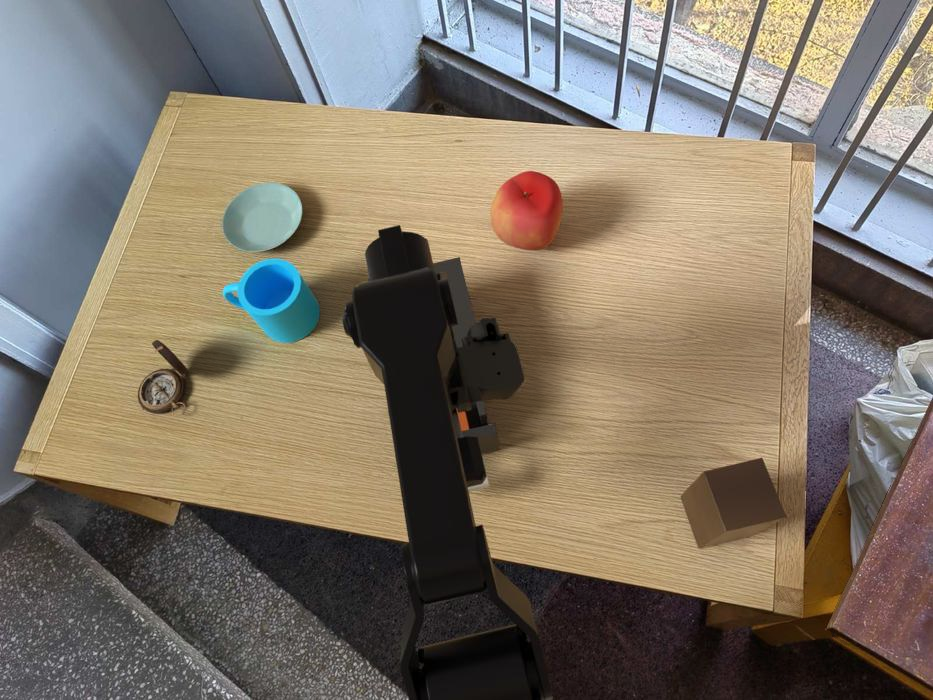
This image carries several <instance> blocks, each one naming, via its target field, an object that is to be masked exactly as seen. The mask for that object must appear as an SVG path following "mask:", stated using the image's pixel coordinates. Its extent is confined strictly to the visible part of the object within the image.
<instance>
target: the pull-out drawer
mask: <svg viewBox="0 0 933 700" xmlns="http://www.w3.org/2000/svg"><path fill="white" fill-rule="evenodd" d="M471 408H472V410H469V411H466V413H467V418H468V422H469V427H470V429H469V430H464V431H462V435H463V437H466V436H470V437H478V441H479V445H480V449H481V453H482V455H483V454H487V453H490V452H495V451H500V450H501V445H500V439H499V433H498V429H497V425H496V423H495V422H494V423H491V424H490V423H489V420H488V414H487V410H486V406H485V401H482V402H476V403H471ZM486 475H487V477H486V479H485V481H484V482H483V484H480V485H476V486H471V487H468V491H469V492H472V491H476V490H477V491H478V490H481V489H486V488H489V487H491V485H490V481H489V476H488V473H486Z"/></svg>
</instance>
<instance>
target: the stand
mask: <svg viewBox="0 0 933 700" xmlns="http://www.w3.org/2000/svg"><path fill="white" fill-rule="evenodd" d="M680 500H681V503H682V506H683V508H684V512H685V514H686V517H687V520H688V523H689V525H690V529H691V531H692V534H693V537H694V540H695V543H696V545H697V548H698V549H703V548H708V547H713V546H717V545H720V544H724V543H729V542H733V541H737V540H743V539H745V538H750V537H753V536H754V535H756V534H758V533H760V532H762V531H764V530H766V529H768V528H769V527H771V526H773V525H776V524H777V523H779V522H780V521H782V520H784V519H786V518H787V515H786V512H785V509H784V507H783V505H782V502H781V500H780V497H779V495H778V493H777V490H776V488H775V485H774V483H773V480H772V477H771V475H770V473H769V471H768V468H767V466H766V464H765V461H764V458H763V457H759V458H755V459H754V458H753V459H750V460H746V461H742V462H738V463H733V464H729V465H725V466H722V467H717V468H712V469H709V470H704V471H702V473H701V474H700V475H699V476H698V477H697V478H696V479H695V480H694V481H693V482H692V483H691V484H690V486H689V487H687V488H686V490H685V491H684V492H683V493H682V494H681V495H680Z"/></svg>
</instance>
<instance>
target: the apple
mask: <svg viewBox="0 0 933 700" xmlns="http://www.w3.org/2000/svg"><path fill="white" fill-rule="evenodd" d="M563 204H564V201H563V196H562V192H561V188H560V186H559V185H558V183H557V182H556V180H554V179H553V178H552V177H551V176H548V175H547V174H544V173H542V172H539V171H534V170H526V171H523V172H520V173H518V174H516V175H514V176H512V177H511V178H509V179H507V180H506V181H505V182H504V183H503V184H502V185H500V186H499V188H498V189H497V191H496V193H495V195H494V197H493V199H492V201H491V205H490V211H489V212H490V215H489V216H490V223H491V227H492V230H493V232H494V234H495V235H496V236H497V237H498V239H499V240H500V241H501V242H503V243H504V244H506V245H507V246H510V247H513V248H515V249H519V250H523V251H540V250H543V249H546V248H547V247H548V246H549V245H550V244H551V243H552V242H553V240H554V239H555V237H556V235H557V234H558V231H559V228H560V226H561V225H560V224H561V221H562V216H563V208H564V205H563Z"/></svg>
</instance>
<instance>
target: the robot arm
mask: <svg viewBox="0 0 933 700" xmlns="http://www.w3.org/2000/svg"><path fill="white" fill-rule="evenodd" d="M377 232H378V237H376V239H374V240H373V241H372V242H371V243H370V244H369V245H368V246H367V248H366V249H365V252H364V257H365V263H366V268H367V273H368V279H370V281H368V280H367V281H363V282H359V283H358V284H357V285H356V286H353V288H352V290H351V296H350V297H349V299H348V300H347V301H346V302H345V306H344V311H343V315H342V322H341V323H342V328H343V330H344V333H345V335H346V336H348V337H349V338H351V340H352V342H353V345H354V346H355V347H356V348H357V349H362V351H363V354H364V356H365V359H366V360H367V362H368V364H369V366H370V368H371V370H372V372H373V374H374V376H375V377H376V378H377V379H378V380H379V381H380V383H382V384H383V385H384V392H385V393H384V394H385V399H386V406H387V411H388V418H389V425H390V430H391V431H390V432H391V437H392V445H393V451H394V455H395V456H394V457H395V462H396V469H397V476H398V481H399V486H400V493H401V500H402V507H403V513H404V520H405V526H406V527H405V528H406V533H407V538H408V539H407V540H408V542H404V543H402V545H401V559H402V567H403V574H404V578H405V582H406V587H407V591H408V594H409V597H410V601H409V605H408V609H407V611H406V614H405V617H404V620H403V624H402V628H401V629H402V630H401V631H402V632H401V646H400V648H401V649H400V662H399V663H400V666H399V667H400V669H399V670H400V673H401V676H402V680H403V683H404V686H405V691H406V694H407V697H408V700H554V697H553V693H552V688H551V683H550V680H549V675H548V671H547V667H546V661H545V659H544V655H543V654H544V653H543V649H542V646H541V641H540V637H539V633H538V629H537V625H536V621H535V616H534V613H533V609H532V606H531V601H530V599H529V597H528V596H527V595H526V594H525V593H524V592H523V591H522V590H520V588H518V587H517V585H515V584H514V583H513V582H512V581H511V580H510V579H509V578H508V577H507V576H506V575H505V574H504V573H503V572H502V571H501V570H500V569H499V568H498V567H496V566H495V565H494V563H493V559H492V555H491V551H490V547H489V543H488V538H487V535H486V531H485V528H484V525H483V524H479V525H476V524H477V523H476V520H475V515H474V510H473V506H472V501H471V497H470V491H468V487H471V486H476V485H480V484H483V482H484V481H485V479H486V477H487V476H488V474H487V471H486V465H485V463H484V457H483V454H482V453H481V449H480V445H479V441H478V437H470V436H466V437H463V435H462V431H461V426H460V422H459V417H458V413H457V410H458V412H459V413H460V412H465V411H469V410H472V408H471V403H476V402H482V401H483V402H491V401H500V400H502V401H506V400H510V399H512V398H513V397H514V396H515V394H516V393H517V391H518V390H519V389H520V387H521V386H522V385H523V384H524V382H525V374H524V370H523V366H522V363H521V359H520V355H519V351H518V348H517V346H516V344H515V342H513V341H511V337H510V334H509V332H505V333H502V332H501V329H500V326H499V323H498V320H497V318H496V317H485V318H481V319H479V320H478V321H476V324H474V325H473V326H472V327H471V328H470V329H469V331H468V333H467V337H464V338H462V344H463V347H459V348H457V345H456V342H455V339H454V333H453V328H452V326H454V325H458V321H457V317H456V312H455V308H454V304H453V300H452V295H451V291H450V287H449V283H448V278H447V274H446V271H445V272H441V273H437V274H436V271H435V269H434V265H433V263H434V261H433V257H432V256H433V255H432V252H431V248H430V243H429V241H428V239H427V238H426V237H425V236H423V235H421V234H419V233H416V232H412V231H403V229H402V227H401V225H400V224H397V225H393V226H389V227H385V228H380V229H378V230H377ZM486 474H487V475H486ZM486 592H487V593H488V596H489V599H490V600H491V602H492V604H493V605H494V606H495V607H496V608H497V609H498V610H500V612H502V613H503V614H504V615H505V616H506V617H507V618H508V619H509V620H510V621H511V622H512V623H514V624H510V625H507V626H503V627H497V628H494V629H490V630H485V631H481V632H477V633H473V634H469V635H464V636H460V637H455V638H451V639H448V640H444V641H443V640H442V641H439V642H435V643H430V644H427V645H422V646H420V648H419V649H418V651H417V649H416V648H417V647H416V645H417V641H418V638H419V635H420V633H421V630H422V626H423V623H424V620H425V606H426V607H429V606H434V605H437V604H443V603H446V602H450V601H454V600H459V599H463V598H467V597H471V596H475V595H481V594H484V593H486ZM528 638H529V639H530V640H529V639H528Z"/></svg>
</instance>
